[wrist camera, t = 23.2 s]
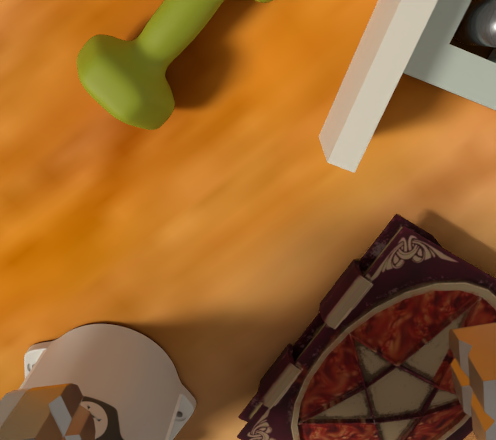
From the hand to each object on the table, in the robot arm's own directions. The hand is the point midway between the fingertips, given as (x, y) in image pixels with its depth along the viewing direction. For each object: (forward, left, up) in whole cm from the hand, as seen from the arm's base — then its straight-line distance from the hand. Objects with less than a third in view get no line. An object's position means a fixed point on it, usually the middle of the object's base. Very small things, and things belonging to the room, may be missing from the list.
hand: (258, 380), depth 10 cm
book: (-19, -20, -32) cm, 42 cm away
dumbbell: (+5, +9, -31) cm, 33 cm away
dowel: (+12, -11, -31) cm, 35 cm away
